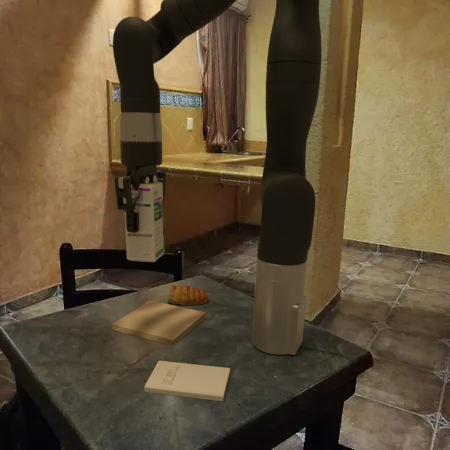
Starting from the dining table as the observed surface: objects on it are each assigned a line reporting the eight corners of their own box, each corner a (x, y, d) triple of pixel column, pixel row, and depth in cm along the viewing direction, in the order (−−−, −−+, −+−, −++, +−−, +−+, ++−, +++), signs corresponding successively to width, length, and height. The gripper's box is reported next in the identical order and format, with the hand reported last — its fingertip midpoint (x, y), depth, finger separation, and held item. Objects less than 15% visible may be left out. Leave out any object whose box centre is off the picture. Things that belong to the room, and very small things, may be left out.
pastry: (208, 296, 107) (208, 282, 106) (207, 308, 100) (208, 292, 100) (169, 295, 107) (170, 280, 106) (166, 306, 100) (167, 291, 99)
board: (205, 317, 95) (205, 312, 94) (173, 345, 82) (173, 339, 82) (150, 305, 100) (150, 300, 100) (111, 329, 87) (111, 324, 87)
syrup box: (155, 262, 81) (154, 184, 78) (125, 260, 82) (122, 183, 79) (165, 254, 86) (164, 181, 83) (136, 252, 88) (134, 180, 84)
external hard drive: (223, 405, 66) (144, 394, 68) (230, 375, 74) (159, 367, 76) (223, 395, 66) (144, 385, 67) (230, 367, 74) (159, 358, 75)
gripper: (136, 140, 72) (139, 239, 75) (178, 138, 85) (178, 223, 88) (99, 139, 74) (103, 234, 78) (144, 137, 87) (146, 219, 91)
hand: (143, 228), depth 83 cm, fingers closed on syrup box, 6 cm apart
